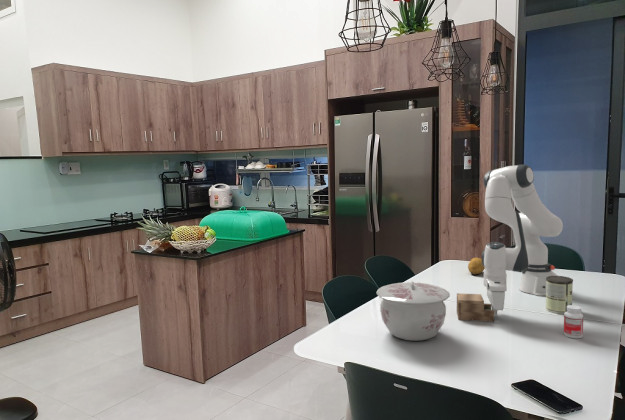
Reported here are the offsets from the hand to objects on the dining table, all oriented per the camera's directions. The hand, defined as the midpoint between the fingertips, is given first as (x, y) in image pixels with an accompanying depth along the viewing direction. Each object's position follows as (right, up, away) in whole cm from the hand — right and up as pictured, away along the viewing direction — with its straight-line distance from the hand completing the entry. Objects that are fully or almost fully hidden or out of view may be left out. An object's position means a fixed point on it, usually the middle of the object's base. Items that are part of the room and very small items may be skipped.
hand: (494, 313), depth 190 cm
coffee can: (+31, 0, +7) cm, 32 cm away
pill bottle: (+21, -4, -21) cm, 30 cm away
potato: (+19, +6, +73) cm, 76 cm away
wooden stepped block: (-8, -2, +2) cm, 8 cm away
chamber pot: (-37, -5, -15) cm, 41 cm away
